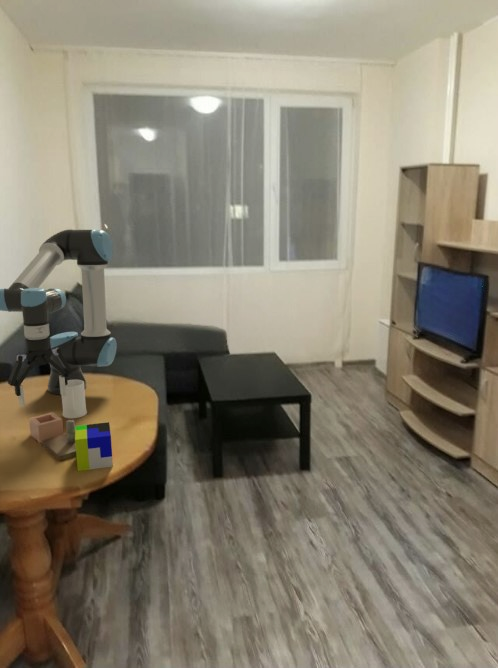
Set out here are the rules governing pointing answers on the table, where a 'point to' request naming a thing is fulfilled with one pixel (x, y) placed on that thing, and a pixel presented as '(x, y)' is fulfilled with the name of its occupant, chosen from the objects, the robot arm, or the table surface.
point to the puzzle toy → (93, 446)
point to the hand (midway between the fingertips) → (43, 399)
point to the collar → (46, 426)
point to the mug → (74, 399)
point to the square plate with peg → (62, 443)
